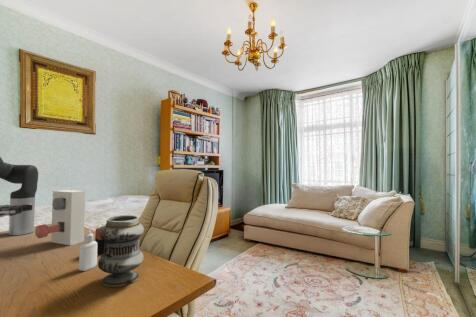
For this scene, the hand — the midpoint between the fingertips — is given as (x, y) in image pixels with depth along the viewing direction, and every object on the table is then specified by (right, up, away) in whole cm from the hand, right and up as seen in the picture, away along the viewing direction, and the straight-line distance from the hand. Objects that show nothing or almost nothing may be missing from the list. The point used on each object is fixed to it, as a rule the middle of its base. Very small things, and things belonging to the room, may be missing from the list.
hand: (30, 207), depth 94 cm
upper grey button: (+5, -3, +12) cm, 13 cm away
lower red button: (+2, -13, +6) cm, 14 cm away
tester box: (+5, -18, +13) cm, 22 cm away
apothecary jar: (+45, -17, -22) cm, 53 cm away
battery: (+28, -18, +1) cm, 33 cm away
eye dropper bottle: (+31, -17, -14) cm, 38 cm away
